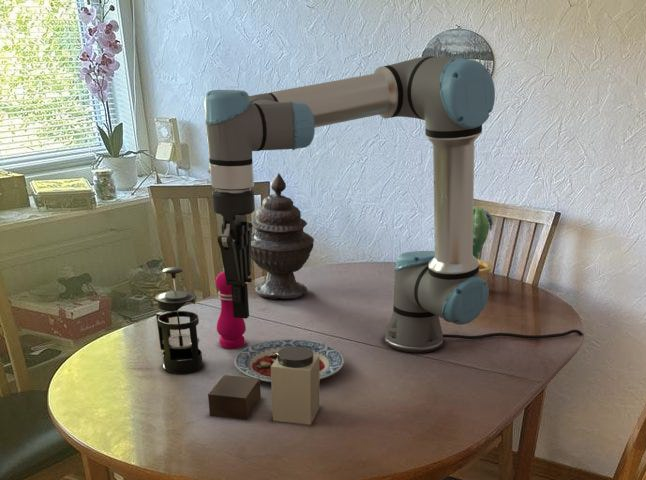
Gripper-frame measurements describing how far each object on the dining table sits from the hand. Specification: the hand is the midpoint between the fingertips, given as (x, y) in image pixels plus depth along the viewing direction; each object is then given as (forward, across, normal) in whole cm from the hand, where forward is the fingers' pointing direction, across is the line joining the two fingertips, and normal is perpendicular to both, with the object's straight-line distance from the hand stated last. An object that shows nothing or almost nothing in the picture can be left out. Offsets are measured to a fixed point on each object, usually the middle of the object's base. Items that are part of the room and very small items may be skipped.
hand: (241, 316), depth 138 cm
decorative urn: (+21, -77, -14) cm, 81 cm away
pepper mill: (+20, -34, -15) cm, 42 cm away
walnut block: (+20, 0, -2) cm, 20 cm away
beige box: (+19, 0, +5) cm, 20 cm away
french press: (+20, -18, -22) cm, 35 cm away
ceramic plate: (+20, -23, +3) cm, 31 cm away
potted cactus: (+21, -97, +41) cm, 107 cm away
